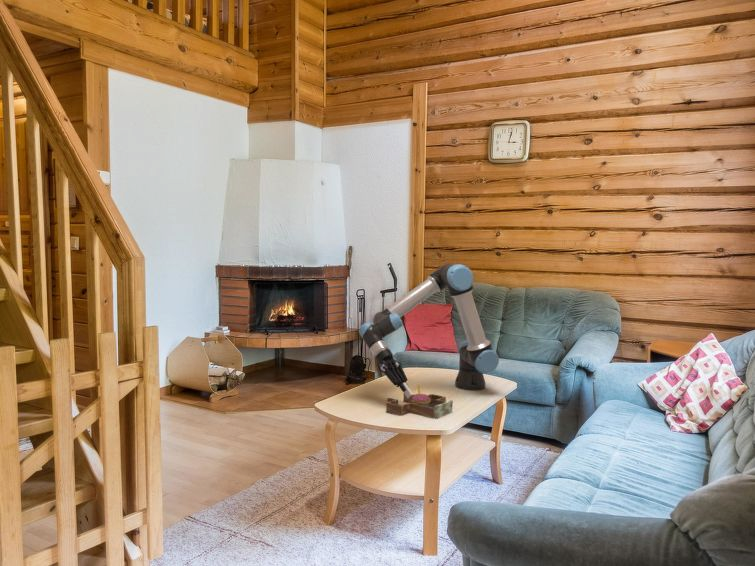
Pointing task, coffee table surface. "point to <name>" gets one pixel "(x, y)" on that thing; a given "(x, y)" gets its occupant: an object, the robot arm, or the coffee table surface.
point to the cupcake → (420, 399)
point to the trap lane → (421, 407)
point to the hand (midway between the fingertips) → (410, 396)
